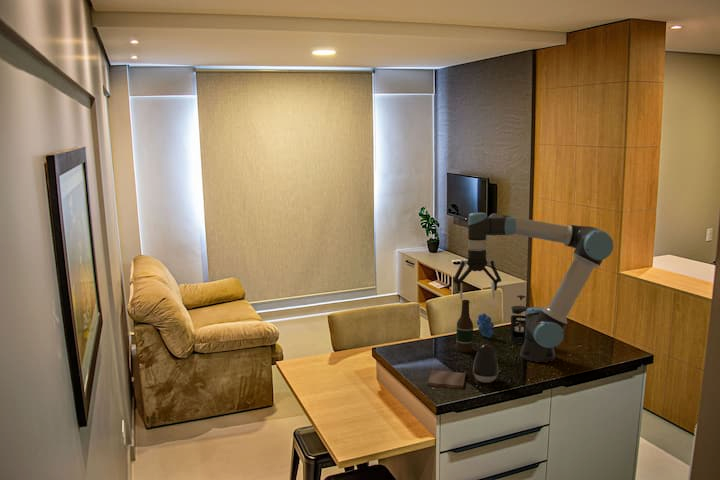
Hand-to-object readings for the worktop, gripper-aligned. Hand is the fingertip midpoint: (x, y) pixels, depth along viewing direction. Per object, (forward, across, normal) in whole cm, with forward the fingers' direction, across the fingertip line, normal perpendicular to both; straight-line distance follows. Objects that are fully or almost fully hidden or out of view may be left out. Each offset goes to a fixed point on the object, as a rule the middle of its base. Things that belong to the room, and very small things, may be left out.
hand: (476, 298), depth 259 cm
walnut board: (+30, +15, +17) cm, 38 cm away
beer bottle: (+30, +2, -21) cm, 37 cm away
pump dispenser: (+30, 0, +16) cm, 35 cm away
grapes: (+31, -11, -41) cm, 52 cm away
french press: (+31, -27, -35) cm, 54 cm away
